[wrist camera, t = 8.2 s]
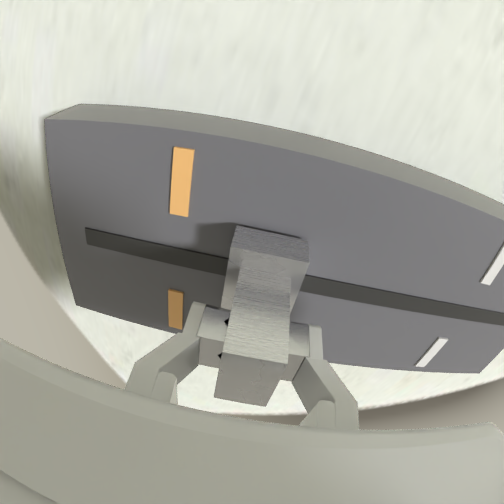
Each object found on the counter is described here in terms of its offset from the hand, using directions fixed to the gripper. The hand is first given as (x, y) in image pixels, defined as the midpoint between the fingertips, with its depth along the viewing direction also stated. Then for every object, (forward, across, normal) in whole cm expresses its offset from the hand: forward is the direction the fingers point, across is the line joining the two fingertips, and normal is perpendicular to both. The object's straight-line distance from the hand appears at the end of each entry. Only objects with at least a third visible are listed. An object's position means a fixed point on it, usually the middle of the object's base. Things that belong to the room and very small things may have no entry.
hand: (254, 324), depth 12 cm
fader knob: (+3, 0, 0) cm, 3 cm away
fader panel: (+6, -4, 0) cm, 7 cm away
